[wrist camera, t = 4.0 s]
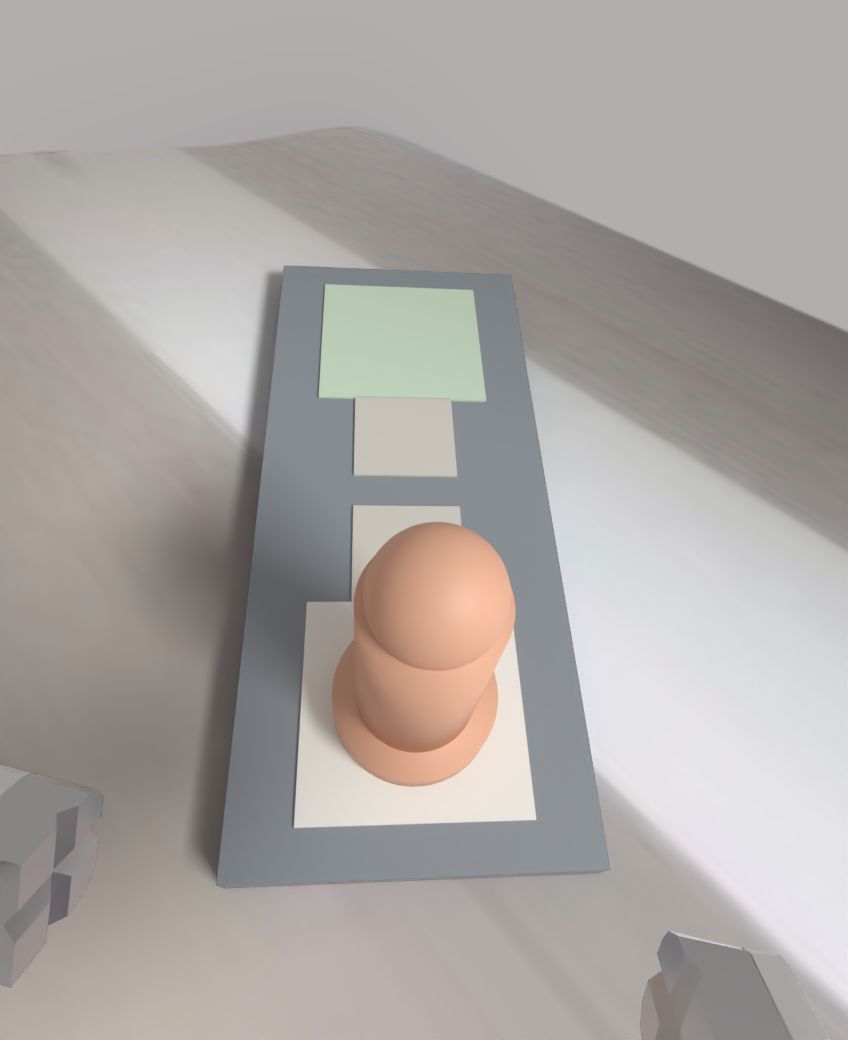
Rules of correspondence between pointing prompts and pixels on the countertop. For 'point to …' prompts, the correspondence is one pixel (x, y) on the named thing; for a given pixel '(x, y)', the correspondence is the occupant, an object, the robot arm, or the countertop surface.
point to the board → (345, 553)
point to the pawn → (424, 655)
